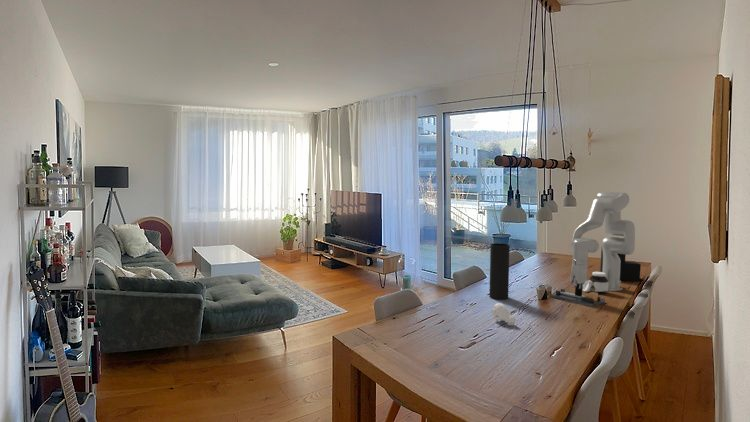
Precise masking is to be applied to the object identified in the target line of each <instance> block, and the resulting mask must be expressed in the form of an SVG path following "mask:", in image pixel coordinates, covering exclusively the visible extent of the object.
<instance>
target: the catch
mask: <svg viewBox="0 0 750 422" xmlns="http://www.w3.org/2000/svg"><path fill="white" fill-rule="evenodd" d="M585 297H587V298H592V299H595V300H594V301H597V300H598V297H599V294H598V293H596V292H591V291H590V292H587V294H585Z"/></svg>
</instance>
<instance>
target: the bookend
mask: <svg viewBox="0 0 750 422" xmlns="http://www.w3.org/2000/svg"><path fill="white" fill-rule="evenodd" d="M618 256H619V258H620V260H621V265H620V281H621V282H622V281H625V282H644V279H643V278H642V277H641V269H642V268H641V267H642V266H641V263H639V262H637V261H632V260H631V261H630V260H627V261H626V254H618ZM602 271H603V249H602V248H601V251H600V270H599V272H602Z"/></svg>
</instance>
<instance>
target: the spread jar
mask: <svg viewBox="0 0 750 422" xmlns="http://www.w3.org/2000/svg"><path fill="white" fill-rule="evenodd" d="M589 291H590V293H591V292H596V293H598V295H604V294H606V293H607V292H608V291H609V290H608V279H607V278H606V277H605V273H603V272H600V271H593V272H592V275H590V277H589V279H587V281H586V282H585V284H583V288H582V292H585V293H589Z"/></svg>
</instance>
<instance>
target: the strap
mask: <svg viewBox="0 0 750 422" xmlns="http://www.w3.org/2000/svg"><path fill="white" fill-rule="evenodd" d="M559 291H560V294H563V295H568V296H573V297H578V298H582V297H585V296H584V294H582V296H577V295H575V294H574V293H575V292H571V293H568V292H569V291H567V292H563V291H561V290H559Z"/></svg>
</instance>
